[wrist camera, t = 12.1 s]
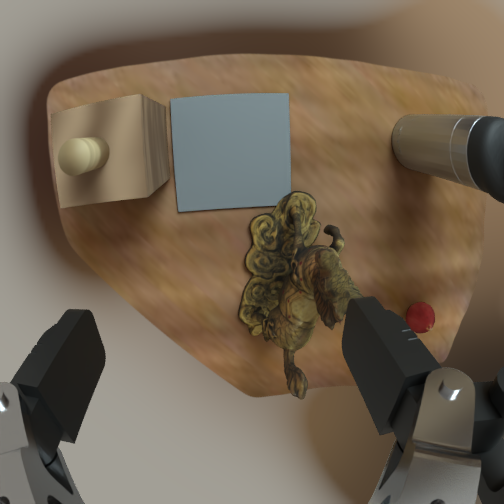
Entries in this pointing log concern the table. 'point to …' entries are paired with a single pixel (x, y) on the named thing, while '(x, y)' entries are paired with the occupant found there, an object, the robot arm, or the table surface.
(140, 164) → the cover
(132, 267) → the table surface
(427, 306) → the onion
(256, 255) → the figurine
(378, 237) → the table surface
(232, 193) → the mat
